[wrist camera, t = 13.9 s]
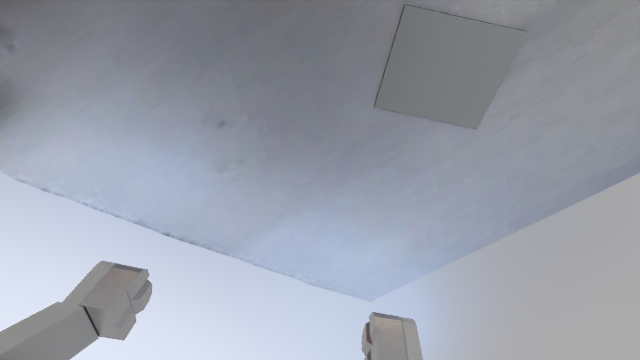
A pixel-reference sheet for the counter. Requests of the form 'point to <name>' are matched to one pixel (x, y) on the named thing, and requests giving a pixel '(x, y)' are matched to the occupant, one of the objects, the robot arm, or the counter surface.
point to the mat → (446, 66)
